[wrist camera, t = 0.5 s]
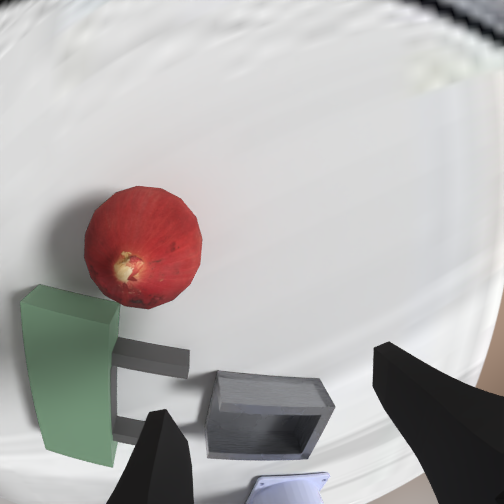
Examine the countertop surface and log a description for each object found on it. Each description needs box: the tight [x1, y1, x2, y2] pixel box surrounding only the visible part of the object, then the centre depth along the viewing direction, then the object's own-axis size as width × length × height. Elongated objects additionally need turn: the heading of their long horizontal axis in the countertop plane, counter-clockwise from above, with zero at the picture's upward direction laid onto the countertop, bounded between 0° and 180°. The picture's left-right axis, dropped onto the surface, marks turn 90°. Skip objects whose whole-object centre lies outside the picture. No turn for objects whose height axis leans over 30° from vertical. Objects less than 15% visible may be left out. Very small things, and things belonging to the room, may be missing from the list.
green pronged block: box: [20, 284, 190, 468], centre depth 19 cm, size 14×11×3 cm
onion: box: [84, 186, 202, 309], centre depth 15 cm, size 6×6×8 cm
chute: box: [205, 371, 335, 460], centre depth 22 cm, size 6×8×4 cm
